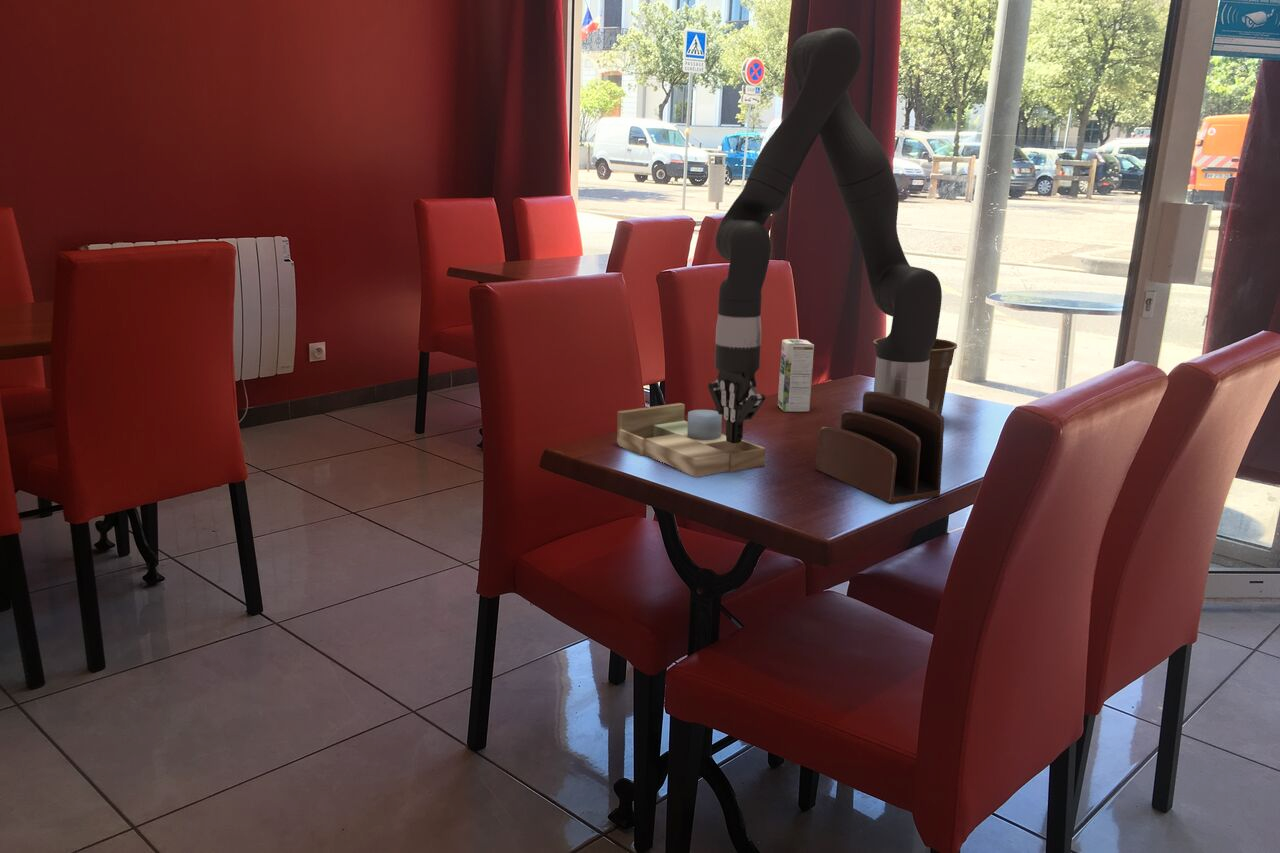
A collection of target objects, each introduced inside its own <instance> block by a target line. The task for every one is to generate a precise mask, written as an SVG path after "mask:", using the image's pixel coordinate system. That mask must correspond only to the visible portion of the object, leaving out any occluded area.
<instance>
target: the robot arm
mask: <svg viewBox="0 0 1280 853" xmlns="http://www.w3.org/2000/svg"><path fill="white" fill-rule="evenodd" d="M862 49H863V48H862V45H861V43H860V41H859V39H858V37H857V36H856V34H854V33H853V32H852V31H851V30H848V29H846V28H842V27H832V28H825V29H820V30H815V31H811V32H808V33H805V34H803V35H801V36H800V37H799V38H797V39H796V41H794V44H793V46H792V47H791V51H790V54H789V69H790V72H791V76H792V79H793V81H794V83H795V85H796V88H797V90H798V91H799V94H798V96H797V98H796V99H795V101H794V103H793V105H792V107H791V108H790V110H789V112H788V113H787V114H786V116H785V118H784V119H783V120H782V122H780V124H779V125H778V127H777V128H776V129H775V131H774V132H773V133H772V134H771V136H770V137H769V139H768V140H767V141H766V143H765V144H764V146H763V148H762V149H761V151H760V152H759V154H758V157H757V158H756V160H755V162H754V165H753V166H752V169H751V171H750V172H749V175H748V178H747V180H746V183H745V185H744V186H743V189H742V190H741V192H740V194H739V195H738V196H737V197H736V199H735V200H734V201H733V203H732V204H731V206H730V208H729V209H728V210H727V212H726V214H724V217H723V218H722V220H721V222H720V224H719V226H718V228H717V231H716V236H715V248H716V251H717V253H719V254H718V255H720V257H722V258H723V259H725V260H727V261H729V267H728V271H727V272H728V273H727V278H725V279H724V280H722V282H721V283H720V284H719V285H720V286H719V289H718V291H719V292H718V307H717V308H718V309H717V310H718V311H717V321H716V326H715V346H714V347H715V348H714V350H715V352H714V367H715V369H716V370H718V372H717V377H716V378H717V379H716V380H715V381H713V382H709V383H708V385H707V388H708V391H709V393H710V396H711V398H712V401H713V403H714V406H715V408H716V411H718V414H720V415H721V414H722V417H723V419H724V420H725V435H726V441H728V442H730V443H733V444H734V443H740V442H741V440H743V434H744V432H743V431H744V423H745V421H749V420H752V419H753V418H754V416H755V415H756V414H757V412H758V410H759V409H760V408H761V406H762V405H763V403H764V402H765V401H766V395H765V394H764V393H759V391H758V389H757V388H756V387H757V381H756V376H755V375H756V373H757V371H759V369H760V365H761V348H762V347H761V345H762V341H761V340H762V320H761V315H762V314H761V313H762V312H761V311H762V289H763V286H764V282H765V280H766V276H767V272H768V267H769V263H770V259H771V255H772V254H771V252H772V245H771V244H772V243H771V236H770V233H769V231H768V229H767V228H766V227H765V226H764V225H765V223H767V220H768V219H769V217H771V215H773V214H776V213H778V212H779V211H780V210H781V209H782V207H783V206H784V205H785V202H786V201H787V198H788V196H789V195H790V192H791V189H792V187H793V185H794V183H795V182H796V179H797V176H798V174H799V172H800V170H801V168H802V166H803V164H804V162H805V160H806V158H807V156H808V154H809V153H810V150H811V148H812V147H813V145H814V143H815V141H816V139H817V138H818V137H819V138H820V142H821V144H822V147H823V151H824V153H825V156H826V158H827V161H828V163H829V166H830V169H831V171H832V175H833V178H834V181H835V184H836V187H837V189H838V192H839V194H840V198H841V201H842V203H843V206H844V208H845V210H846V213H847V215H848V219H849V221H850V224H851V226H852V230H853V232H854V235H855V237H856V241H857V243H858V246H859V248H860V251H861V254H862V259H863V262H864V266H865V267H864V268H865V270H866V276H867V279H868V283H869V286H870V287H869V288H870V290H871V294H872V298H873V301H874V302H875V305H876V306H877V307H878V308H877V309H879V310H880V311H881V312H882V313H884V314H886V315H887V316H890V317H892V321H891V328H890V332H889V334H888V335H887V336H885V337H886V338H884V337H882V338H883V339H881V340H880V341H879V342H878V344H877V354H876V353H875V369H874V371H875V372H874V381H873V383H874V385H873V392H881V393H886V394H891V395H895V396H899V397H902V398H905V399H908V400H911V401H914V402H917V403H919V404H922V405H924V406H926V407H928V408H929V400H928V399H926V394H927V383H928V371H929V359H930V352H931V349H932V347H933V346H934V344H935V341H936V339H937V338H938V336H937V335H938V330H939V322H940V316H941V310H942V299H943V296H942V295H943V293H942V286H941V281H940V279H939V277H938V276H937V275H936V273H934V272H932V271H931V270H929V269H926V268H924V267H923V268H921V267H917V266H911V265H910V264H909V262H908V260H907V258H906V256H905V252H904V250H903V247H902V245H901V243H900V242H901V241H900V239H899V235H898V228H897V225H898V224H897V223H898V222H897V221H898V213H899V212H898V211H899V201H900V200H899V188H898V186H897V182H896V178H895V175H894V171H893V170H892V167H891V163H890V161H889V159H888V156H887V153H886V152H885V150H884V148H883V146H882V145H881V143H880V142H879V141H878V139H877V138H876V136H875V135H874V134H873V132H872V131H871V130H870V129H869V127H867V124H866V123H864V121H863V120H862V118H861V117H860V116H859V114H858V112H857V110H856V109H855V107H854V105H853V102H852V100H851V98H850V94H849V91H848V89H849V87H850V86H851V84H852V83H853V81H854V80H855V78H856V76H857V74H858V73H859V71H860V68H861V65H862V60H863V50H862ZM876 355H877V356H876Z"/></svg>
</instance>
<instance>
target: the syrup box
mask: <svg viewBox="0 0 1280 853" xmlns="http://www.w3.org/2000/svg"><path fill="white" fill-rule="evenodd" d="M814 350H815V344H813V343H812V342H810V341H809V340H807V339H800V338H799V339H798V338H786V339H782V340H781V352H780V353H781V355H780V366H779V379H778V380H779V381H778V396H777V407H778V406H779V408H780V409H781V411H783V413H784V412H785V413H792V412H793V413H798V412H799V413H802V412H806V413H808V412H810V408H811V406H810V405H811V395H812V394H811V392H812V382H813V381H812V380H813V365H814V356H815V355H814V352H815V351H814Z"/></svg>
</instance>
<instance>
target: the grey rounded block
mask: <svg viewBox="0 0 1280 853" xmlns="http://www.w3.org/2000/svg"><path fill="white" fill-rule="evenodd" d="M722 418H723V415H722V414H721V415H720V414H718V411H717V410H712V409H693V410H690V411H688V412H687V422H688V430H687V435H688V436H689V437H691V438H694V439H700V440H712V439H718V438H720V437H721V434H722V422H723V420H722Z"/></svg>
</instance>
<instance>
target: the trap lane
mask: <svg viewBox="0 0 1280 853" xmlns="http://www.w3.org/2000/svg"><path fill="white" fill-rule="evenodd" d="M685 405H686V404H685V403H682V402H677V403H670V404H663V405H654V406H647V407H641V408H633V409H632V408H631V409H626V410H625V409H624V410H618V411H617V413H616V414H617V419H616V420H617V422H616V423H617V424H616V426H617V429H616V430H617V431H616V432H617V433H616V436H617V437H616V444H618V446H619V447H621V448H624V449H626V450H628V451H630V452H632V451H633V453H634V452H635V453H634V454H637V455H639V454H640V455H639V456H641V455H642V456H645V455H646V456H645V457H648V456H649V457H648V458H650V457H651V458H650V459H652V458H653V459H652V460H655V459H656V460H655V461H657V460H658V461H657V462H659V461H660V463H662V462H663V463H662V464H664V463H666V464H668V465H670V466H669V467H671V466H672V468H673V467H674V468H673V469H675V468H676V470H678V471H680V470H681V471H680V472H683V473H684V474H686V475H690V476H692V477H693V478H694V477H695V478H698V477H702V476H709V475H715V474H721V473H725V472H733V473H734V472H737V471H744V470H747V469H753V468H759V467H764V466H765V463H766V461H765V460H766V447H764V446H761V445H758V444H755V443H753V442H750V441H748V440H744V439H742V440H741V442H740V443H734V444H733V443H730V442H728V441H726V434H723V433H721V437H720V438H718V439H712V440H700V439H694V438H691V437H689V436H688V435H687V430H688V420H687V421H686V420H685V411H686V410H685V409H686V406H685ZM666 464H665V465H666ZM668 465H667V466H668Z"/></svg>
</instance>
